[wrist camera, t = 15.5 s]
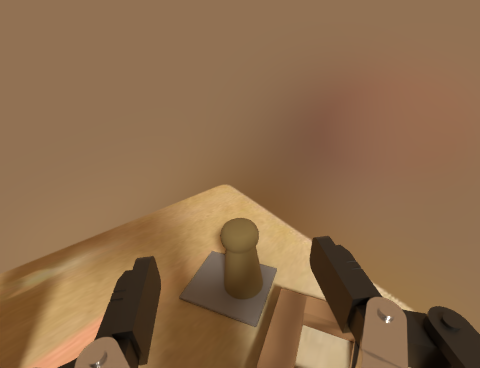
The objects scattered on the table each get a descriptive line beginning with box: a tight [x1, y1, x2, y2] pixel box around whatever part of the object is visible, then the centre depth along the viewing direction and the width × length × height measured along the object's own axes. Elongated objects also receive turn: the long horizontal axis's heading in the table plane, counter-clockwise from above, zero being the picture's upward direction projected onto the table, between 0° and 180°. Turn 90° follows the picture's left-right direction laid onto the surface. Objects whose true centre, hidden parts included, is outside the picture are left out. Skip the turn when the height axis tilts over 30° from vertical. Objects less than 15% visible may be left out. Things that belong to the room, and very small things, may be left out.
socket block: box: [256, 288, 355, 368], centre depth 26 cm, size 14×12×2 cm
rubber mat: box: [179, 251, 277, 327], centre depth 37 cm, size 12×10×1 cm
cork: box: [220, 218, 263, 300], centre depth 34 cm, size 6×6×11 cm
